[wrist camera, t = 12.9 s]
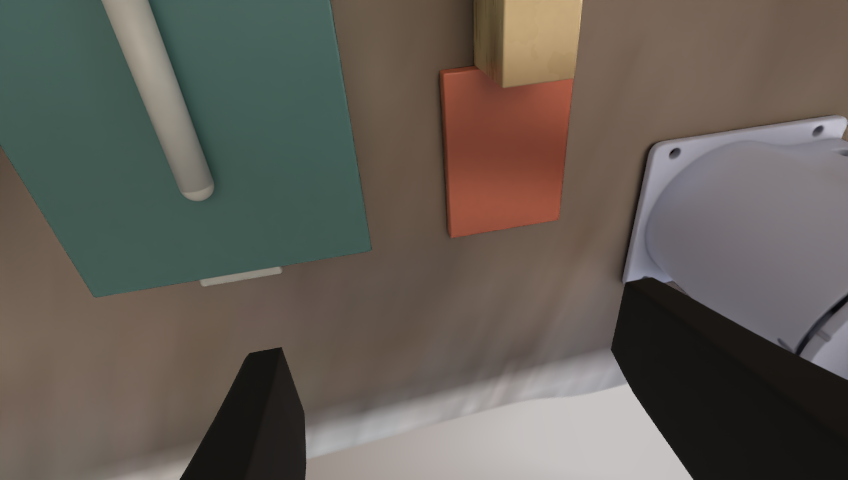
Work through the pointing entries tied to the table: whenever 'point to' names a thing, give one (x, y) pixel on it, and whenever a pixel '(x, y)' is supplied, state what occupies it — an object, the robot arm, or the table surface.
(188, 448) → the table surface
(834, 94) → the table surface
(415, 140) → the table surface
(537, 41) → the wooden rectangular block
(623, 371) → the robot arm
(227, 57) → the tiffin box
